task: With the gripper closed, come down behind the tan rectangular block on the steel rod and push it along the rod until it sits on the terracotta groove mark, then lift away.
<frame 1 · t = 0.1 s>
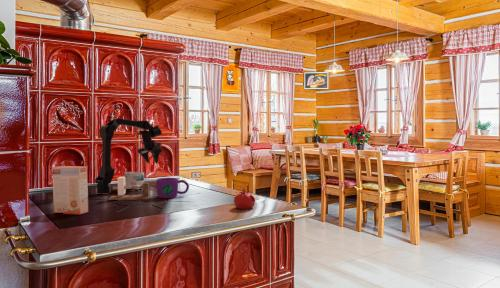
hand: (152, 163, 253), 15 cm above the table, tool pointing down, fingers open, 9 cm apart
rod stand: (129, 198, 211), on the table
cracker box: (71, 213, 175), on the table
tan rectangular block: (121, 185, 210), point 7 cm above the table, slide at 0.0 cm
mug: (173, 197, 214), on the table
light bulb box: (134, 189, 244), on the table
pomegranate: (244, 208, 180), on the table
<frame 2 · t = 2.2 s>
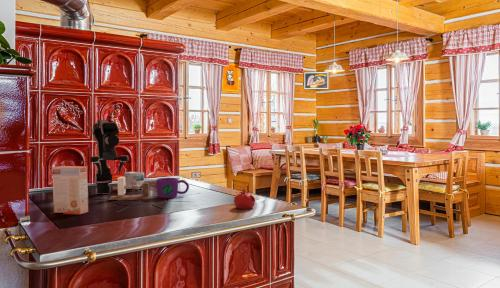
hand: (110, 174, 209), 13 cm above the table, tool pointing down, fingers open, 9 cm apart
nothing on the table moved.
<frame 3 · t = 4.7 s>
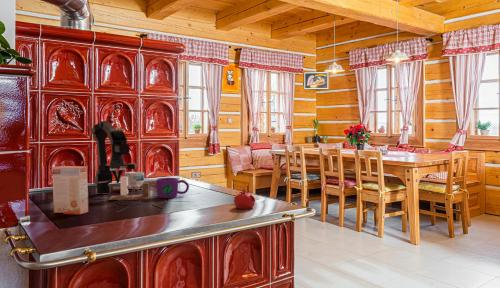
hand: (117, 182, 210), 9 cm above the table, tool pointing down, fingers closed
tan rectangular block: (124, 185, 211), point 7 cm above the table, slide at 1.5 cm, touching gripper
everything else where it was.
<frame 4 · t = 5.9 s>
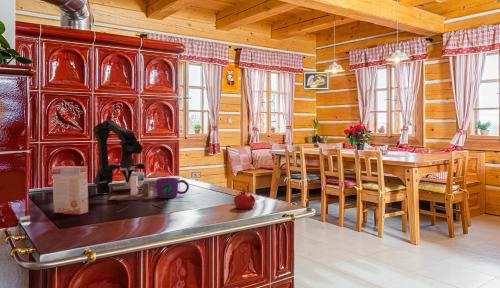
hand: (127, 182, 211), 9 cm above the table, tool pointing down, fingers closed
tan rectangular block: (134, 185, 211), point 7 cm above the table, slide at 6.5 cm, touching gripper
everything else where it was.
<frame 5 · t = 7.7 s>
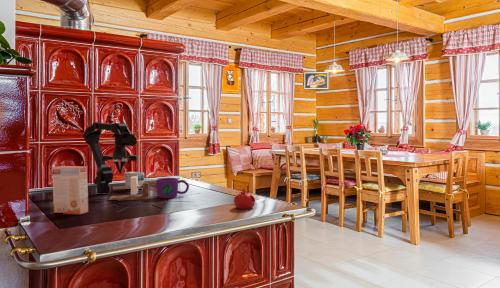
hand: (120, 173, 219), 13 cm above the table, tool pointing down, fingers closed
tan rectangular block: (134, 185, 211), point 7 cm above the table, slide at 6.6 cm
everything else where it was.
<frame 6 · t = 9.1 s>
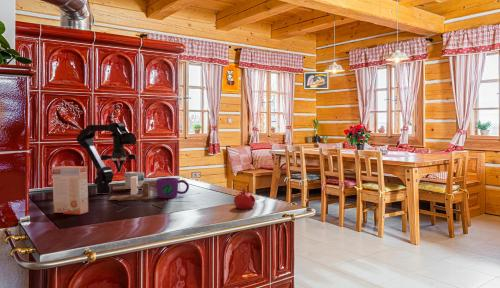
hand: (119, 172, 222), 13 cm above the table, tool pointing down, fingers closed
nothing on the table moved.
at the end: tan rectangular block slide at 6.6 cm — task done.
